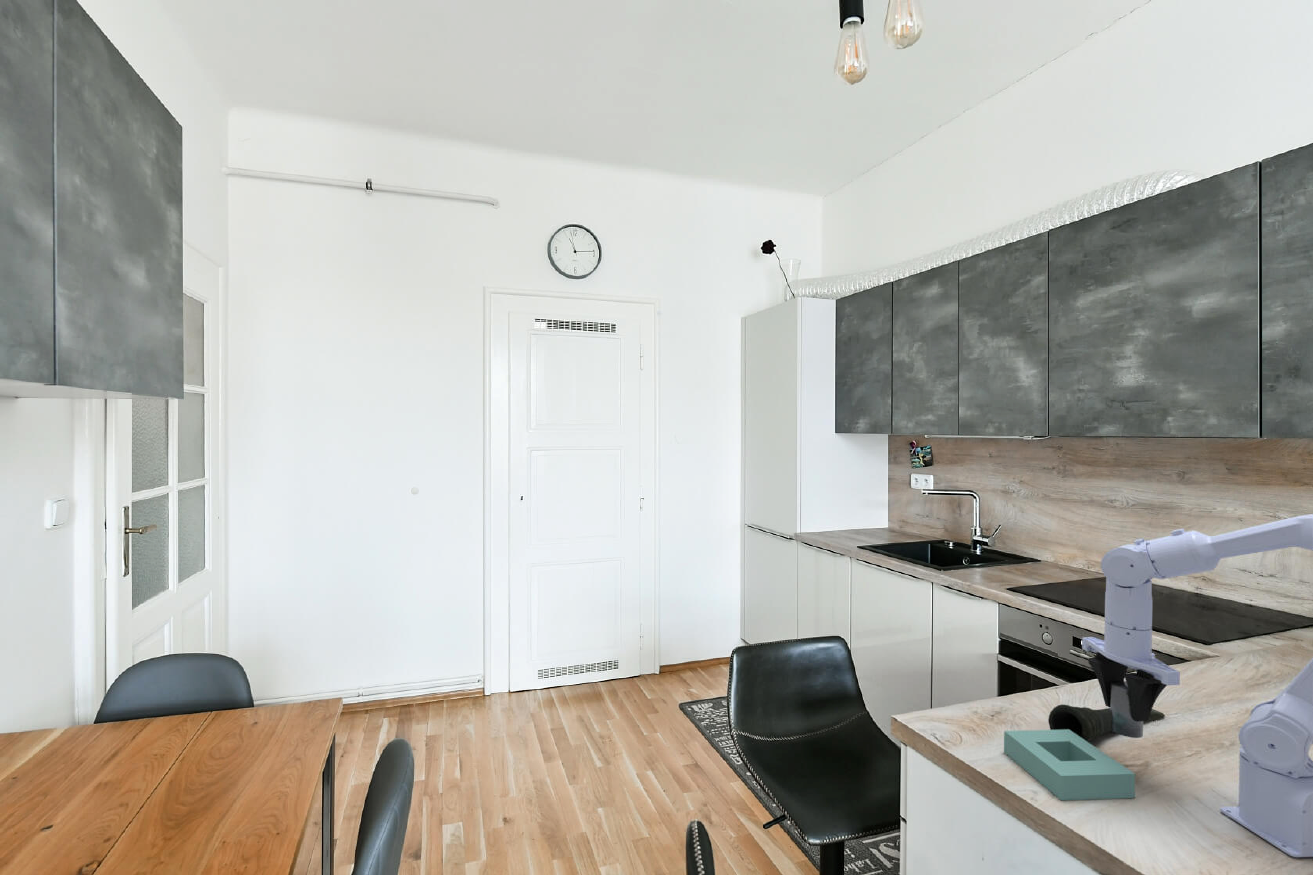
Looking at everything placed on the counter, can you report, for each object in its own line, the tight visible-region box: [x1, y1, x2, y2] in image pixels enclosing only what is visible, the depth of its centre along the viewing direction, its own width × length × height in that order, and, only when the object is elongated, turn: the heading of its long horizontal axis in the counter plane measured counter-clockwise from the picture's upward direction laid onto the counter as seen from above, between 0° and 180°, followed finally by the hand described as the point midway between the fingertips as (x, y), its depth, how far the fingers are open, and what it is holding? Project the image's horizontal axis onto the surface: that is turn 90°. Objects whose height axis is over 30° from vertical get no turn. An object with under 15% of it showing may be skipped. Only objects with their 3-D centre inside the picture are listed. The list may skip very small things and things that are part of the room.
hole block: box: [1003, 729, 1136, 801], centre depth 94 cm, size 13×11×4 cm
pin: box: [1109, 680, 1144, 739], centre depth 94 cm, size 4×4×7 cm
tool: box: [1047, 704, 1166, 743], centre depth 107 cm, size 28×6×7 cm, turn 110°
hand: (1126, 712), depth 94 cm, fingers closed on pin, 4 cm apart
